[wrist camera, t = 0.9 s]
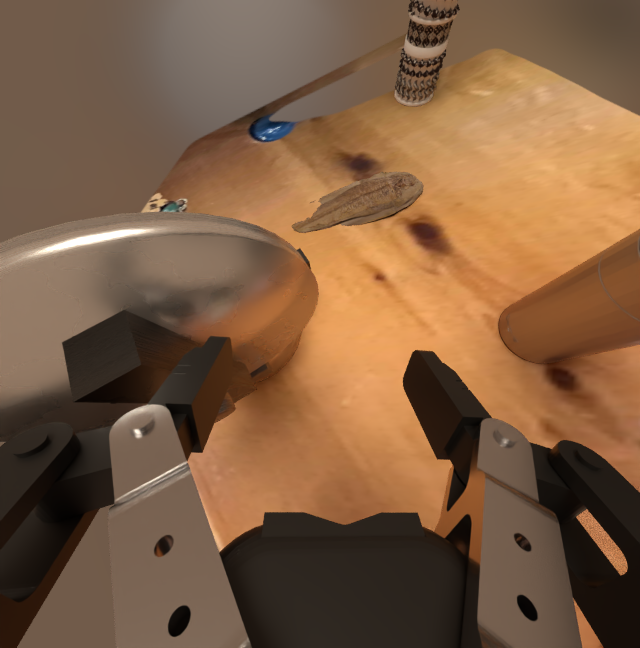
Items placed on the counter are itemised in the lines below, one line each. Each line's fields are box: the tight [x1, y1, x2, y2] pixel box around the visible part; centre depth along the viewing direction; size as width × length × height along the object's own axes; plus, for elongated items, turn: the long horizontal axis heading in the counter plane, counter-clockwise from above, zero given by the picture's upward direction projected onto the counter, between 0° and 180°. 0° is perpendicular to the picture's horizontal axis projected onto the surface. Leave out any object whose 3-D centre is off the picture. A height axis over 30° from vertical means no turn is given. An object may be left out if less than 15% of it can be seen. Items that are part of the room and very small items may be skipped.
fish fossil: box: [292, 172, 423, 233], centre depth 44 cm, size 26×10×1 cm, turn 114°
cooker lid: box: [0, 212, 318, 442], centre depth 14 cm, size 18×18×5 cm
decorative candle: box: [394, 0, 460, 106], centre depth 41 cm, size 9×9×25 cm
